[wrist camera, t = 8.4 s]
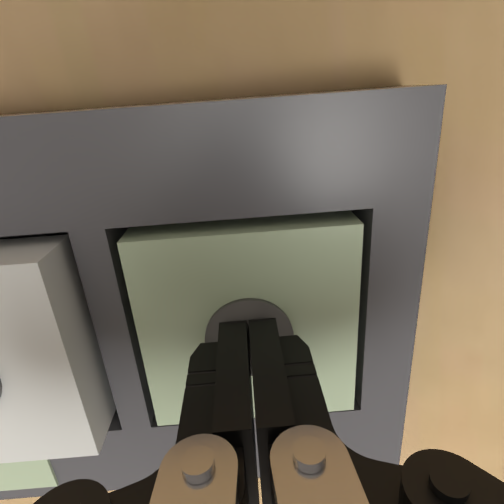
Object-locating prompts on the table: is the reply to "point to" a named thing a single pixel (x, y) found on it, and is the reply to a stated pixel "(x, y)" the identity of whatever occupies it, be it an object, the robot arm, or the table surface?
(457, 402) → the table surface
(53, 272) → the key white
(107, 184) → the grey flat board
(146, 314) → the key sage
